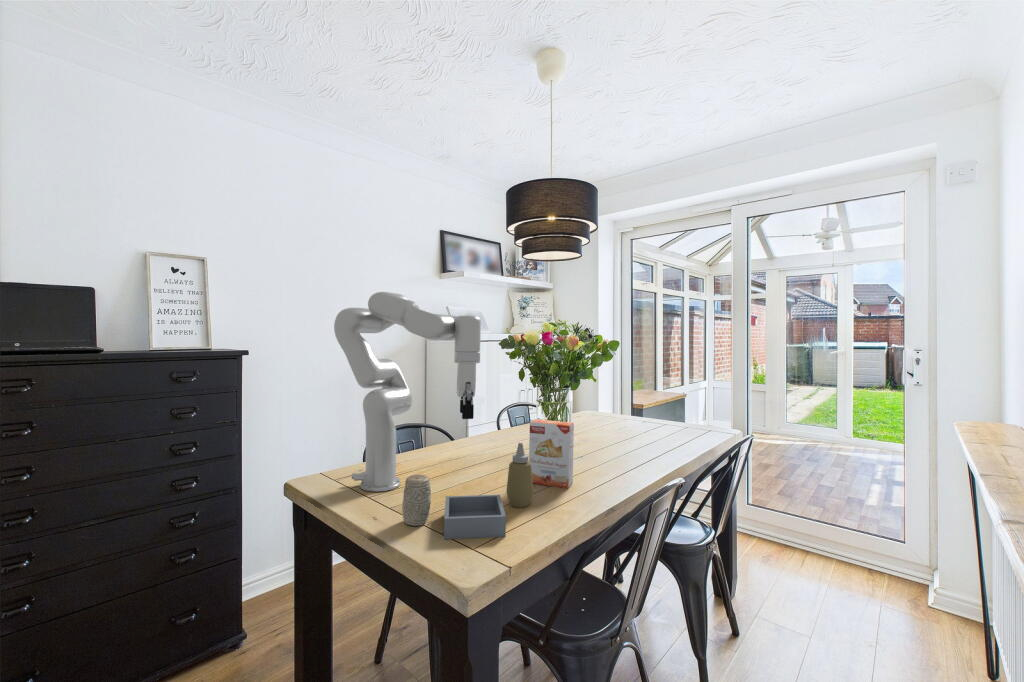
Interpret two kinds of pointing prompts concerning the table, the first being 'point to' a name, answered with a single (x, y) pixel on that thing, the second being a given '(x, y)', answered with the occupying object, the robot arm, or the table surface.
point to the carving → (416, 500)
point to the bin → (474, 517)
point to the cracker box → (551, 452)
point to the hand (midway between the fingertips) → (466, 415)
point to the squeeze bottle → (520, 479)
